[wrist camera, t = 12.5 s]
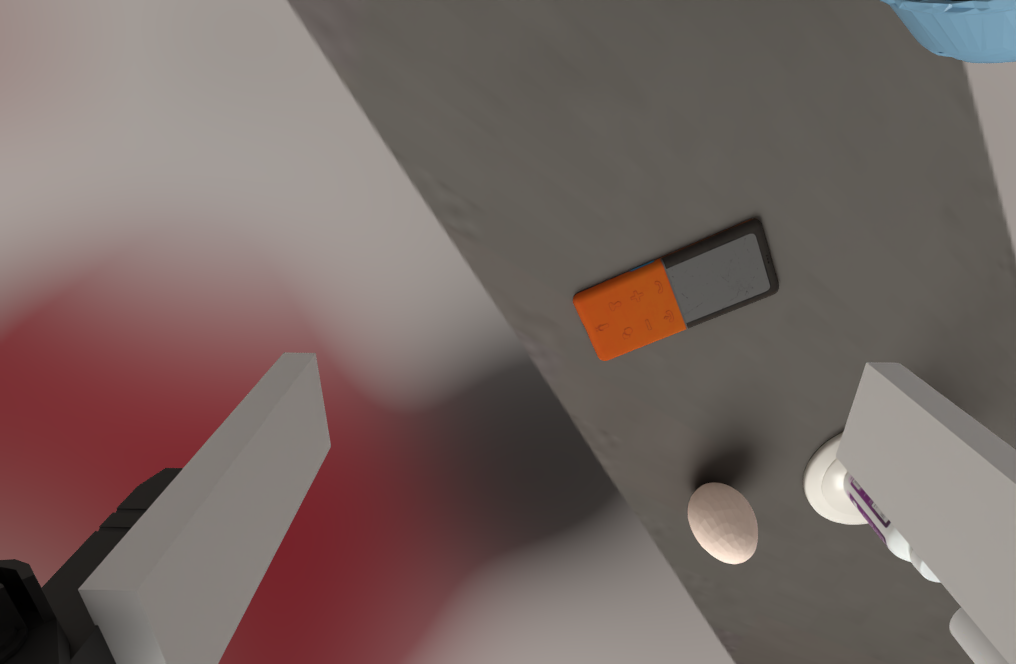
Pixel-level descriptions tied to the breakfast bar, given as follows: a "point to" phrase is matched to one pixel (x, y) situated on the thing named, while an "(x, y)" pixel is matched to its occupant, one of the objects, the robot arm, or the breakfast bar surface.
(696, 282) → the phone
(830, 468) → the saucer
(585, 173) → the breakfast bar surface
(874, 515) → the pill bottle
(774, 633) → the breakfast bar surface
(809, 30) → the breakfast bar surface
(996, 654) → the white upright cylinder
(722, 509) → the egg
